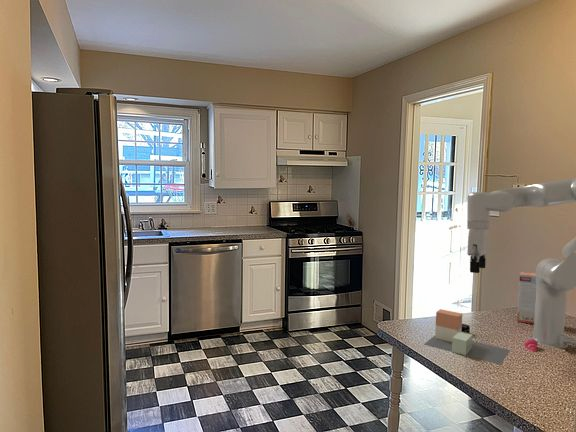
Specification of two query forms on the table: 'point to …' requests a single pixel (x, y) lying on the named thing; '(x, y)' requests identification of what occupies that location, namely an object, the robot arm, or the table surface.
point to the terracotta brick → (449, 319)
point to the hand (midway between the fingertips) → (477, 270)
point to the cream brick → (445, 333)
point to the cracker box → (526, 298)
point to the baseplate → (474, 350)
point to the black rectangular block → (465, 328)
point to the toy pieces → (531, 345)
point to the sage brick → (462, 343)
